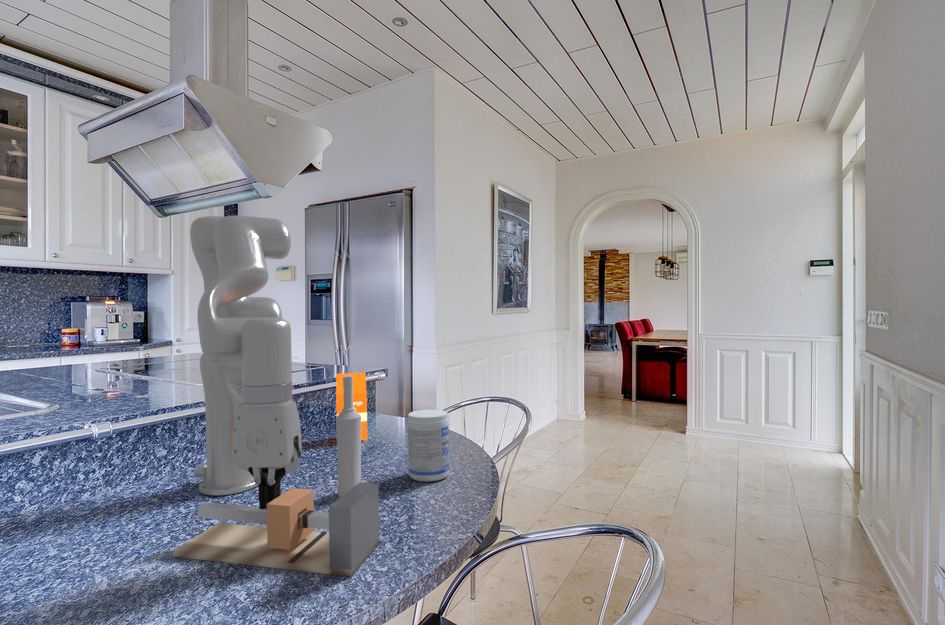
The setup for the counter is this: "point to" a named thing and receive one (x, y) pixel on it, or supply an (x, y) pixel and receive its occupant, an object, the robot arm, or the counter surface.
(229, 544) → the base board
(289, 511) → the tan notched block
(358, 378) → the orange juice
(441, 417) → the supplement tub
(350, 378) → the bottle
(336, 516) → the slider rail assembly
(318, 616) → the counter surface
